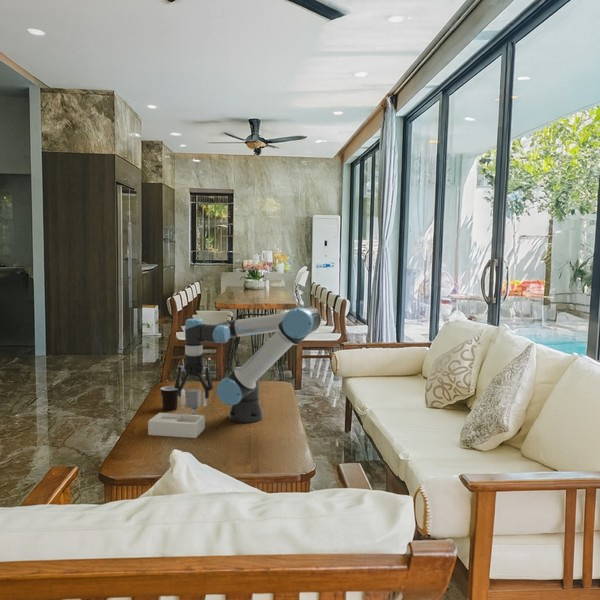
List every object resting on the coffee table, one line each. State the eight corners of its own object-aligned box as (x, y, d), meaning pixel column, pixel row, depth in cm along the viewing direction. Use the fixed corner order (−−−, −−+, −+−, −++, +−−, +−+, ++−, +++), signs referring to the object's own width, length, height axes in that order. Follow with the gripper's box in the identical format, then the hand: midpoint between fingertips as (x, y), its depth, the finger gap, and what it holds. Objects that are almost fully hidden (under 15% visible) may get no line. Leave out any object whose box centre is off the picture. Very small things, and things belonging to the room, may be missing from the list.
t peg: (203, 419, 247) (204, 388, 246) (198, 424, 240) (199, 392, 239) (188, 418, 248) (188, 388, 247) (183, 423, 241) (183, 392, 240)
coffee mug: (174, 412, 257) (174, 391, 257) (157, 410, 259) (157, 389, 258) (184, 405, 269) (184, 385, 268) (168, 404, 270) (168, 384, 270)
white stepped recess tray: (204, 428, 235) (204, 415, 235) (195, 438, 223) (195, 424, 223) (159, 425, 238) (159, 412, 237) (148, 434, 226) (148, 421, 225)
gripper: (220, 353, 243) (220, 403, 246) (172, 351, 246) (172, 401, 248) (216, 357, 236) (215, 408, 238) (166, 354, 239) (166, 405, 241)
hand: (193, 404), depth 243 cm, fingers open, 9 cm apart
